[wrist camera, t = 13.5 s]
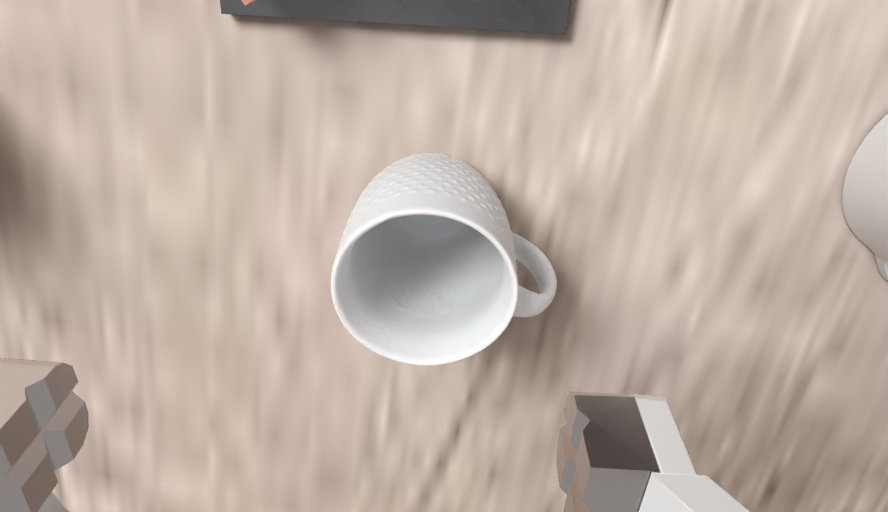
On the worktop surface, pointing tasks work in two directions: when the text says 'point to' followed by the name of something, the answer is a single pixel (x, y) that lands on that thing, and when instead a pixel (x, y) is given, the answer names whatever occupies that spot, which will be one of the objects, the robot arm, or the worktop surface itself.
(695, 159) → the worktop surface
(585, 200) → the worktop surface
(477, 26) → the base
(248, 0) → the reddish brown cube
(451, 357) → the mug
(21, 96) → the worktop surface
